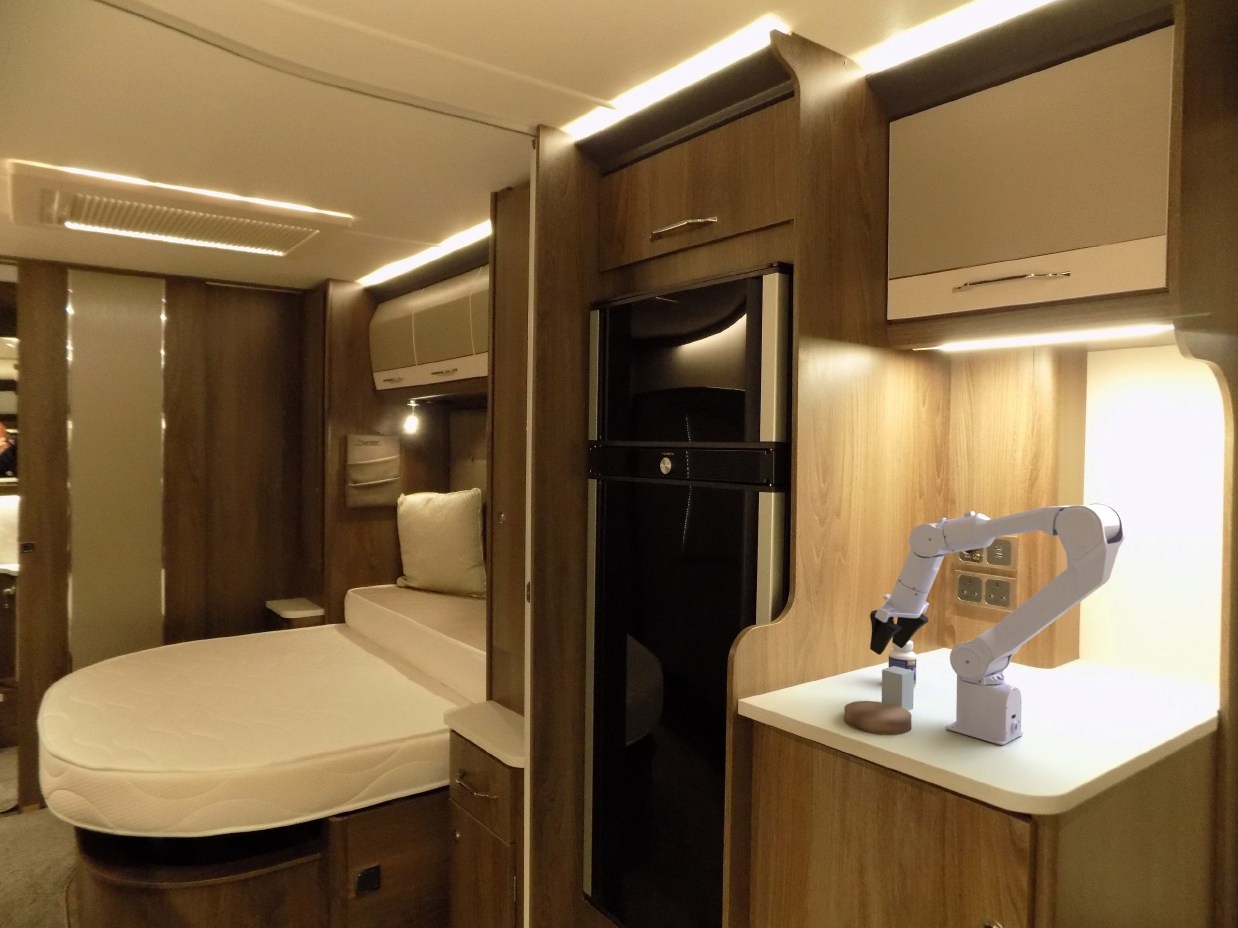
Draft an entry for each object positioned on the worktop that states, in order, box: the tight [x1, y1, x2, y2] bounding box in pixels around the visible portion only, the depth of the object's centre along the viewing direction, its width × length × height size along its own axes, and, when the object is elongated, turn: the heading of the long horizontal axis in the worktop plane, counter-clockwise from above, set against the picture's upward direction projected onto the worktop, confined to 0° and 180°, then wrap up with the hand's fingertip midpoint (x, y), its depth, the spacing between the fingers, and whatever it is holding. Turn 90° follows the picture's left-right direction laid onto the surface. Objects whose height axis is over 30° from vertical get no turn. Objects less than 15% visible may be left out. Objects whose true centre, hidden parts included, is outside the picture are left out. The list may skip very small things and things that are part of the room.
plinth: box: [843, 700, 913, 736], centre depth 131 cm, size 11×11×2 cm
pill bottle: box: [888, 639, 917, 688], centre depth 154 cm, size 5×5×9 cm
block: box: [881, 666, 915, 712], centre depth 139 cm, size 4×4×7 cm
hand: (886, 648), depth 141 cm, fingers open, 7 cm apart
